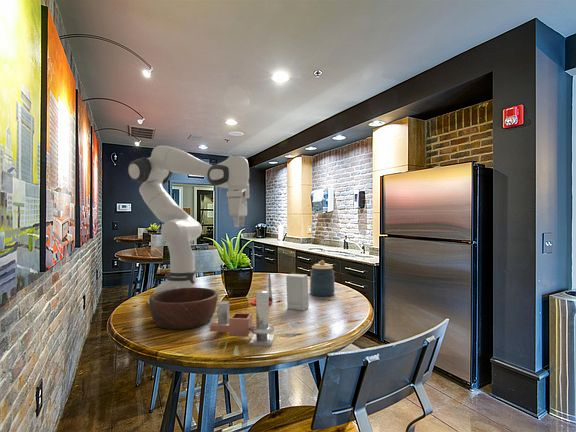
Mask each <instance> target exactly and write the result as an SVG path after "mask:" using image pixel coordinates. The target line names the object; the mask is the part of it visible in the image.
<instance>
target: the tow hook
mask: <svg viewBox="0 0 576 432" xmlns="http://www.w3.org/2000/svg"><path fill="white" fill-rule="evenodd" d="M267 281H268V283H267V284H268V291H269V306H271V305H272V303H273V301H274V300H273V292H272V278H271V273H268V279H267ZM250 305H252V306H256V298H255V299H253V300H251V301H250Z"/></svg>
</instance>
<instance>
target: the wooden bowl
mask: <svg viewBox="0 0 576 432" xmlns="http://www.w3.org/2000/svg"><path fill="white" fill-rule="evenodd" d="M148 300H149V304H148V305H149V309H150V310H149V311H150V316H151V317H152V320H153V322H154V323H155V325H156V326H157V327H160V328H161V327H162V329H164V328H166V329H165V330H173V329H178V330H187V329H194V328H197V327H200V326H204V325H205V324H207V323H208V322H210V321H211V319H212V318H213V316H214V314H215V311H216V308H217V305H218V303H217V302H218V292H217V291H216V290H215V289H211V288H205V287H196V288H177V289H170V290H165V291H161V292H158V293H155V294H153V293H152V295H151V296H149V298H148Z"/></svg>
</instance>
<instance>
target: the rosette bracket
mask: <svg viewBox="0 0 576 432" xmlns="http://www.w3.org/2000/svg"><path fill="white" fill-rule="evenodd" d="M255 295H256V296H255V299H256V305H255V307H256V310H255V313H256V314H255V318H256V319H255V324H253V313H252V312H233V313H232V315H231V316H229V324H224V323H218V322H216V323H215V322H212V323H211V324H210V325H209V331H210V332H216V333H224V332H227V333H229V334H228V335H229V337H246V338H249V336H250V335H251V334H253V335H252V336H251V338H250V341H249V346H261V347H262V346H263V347H264V346H265V347H267V346H268V347H272V346H273V342H274V339H275V334H272V333H274V331H275V326H274V325H273V324H271V323H269V321H270V319H269V317H270V316H269V315H270V313H269V311H270V309H269V307H270V305H269V290H262V289H261V290H257V291H256V294H255Z"/></svg>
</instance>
